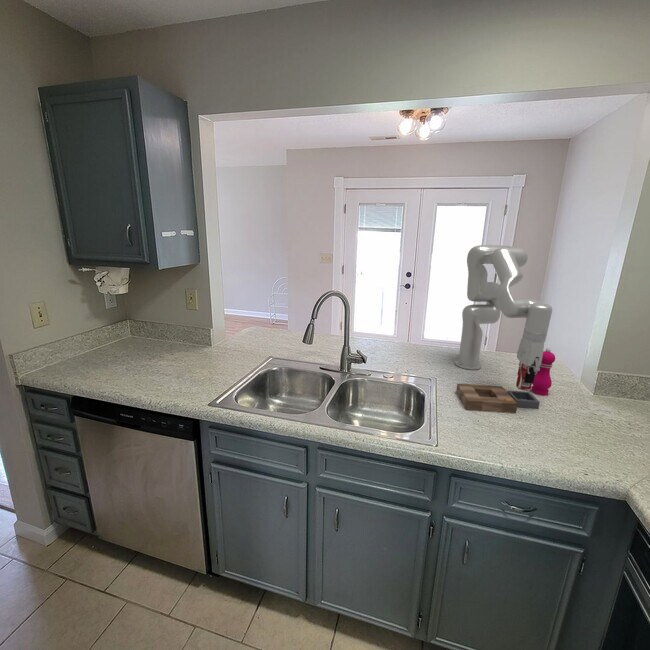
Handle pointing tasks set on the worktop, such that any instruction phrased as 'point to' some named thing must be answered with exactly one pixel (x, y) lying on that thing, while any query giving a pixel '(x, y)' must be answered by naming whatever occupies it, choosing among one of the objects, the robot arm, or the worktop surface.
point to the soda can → (521, 376)
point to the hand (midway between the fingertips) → (525, 378)
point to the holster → (528, 403)
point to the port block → (486, 398)
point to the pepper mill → (543, 374)
